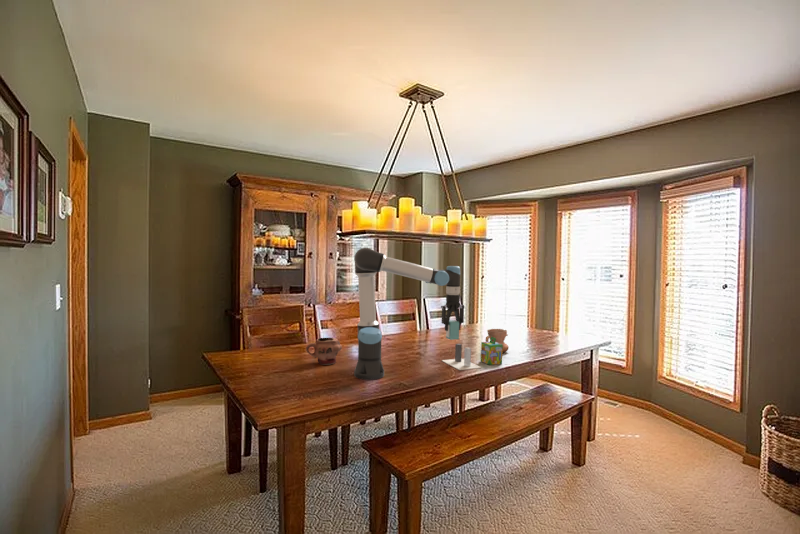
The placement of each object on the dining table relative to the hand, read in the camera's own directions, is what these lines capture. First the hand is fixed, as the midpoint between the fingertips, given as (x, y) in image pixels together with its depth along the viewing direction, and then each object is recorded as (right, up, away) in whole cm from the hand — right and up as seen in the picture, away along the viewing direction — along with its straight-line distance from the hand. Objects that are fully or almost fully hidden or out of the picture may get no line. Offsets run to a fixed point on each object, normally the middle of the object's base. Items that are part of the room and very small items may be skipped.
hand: (452, 336), depth 227 cm
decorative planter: (-71, -16, +2) cm, 73 cm away
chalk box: (+24, -18, +12) cm, 32 cm away
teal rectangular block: (0, -1, 0) cm, 1 cm away
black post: (+5, -17, +12) cm, 21 cm away
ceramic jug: (+33, -17, +40) cm, 55 cm away
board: (+6, -17, +7) cm, 19 cm away
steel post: (+9, -17, +3) cm, 20 cm away
